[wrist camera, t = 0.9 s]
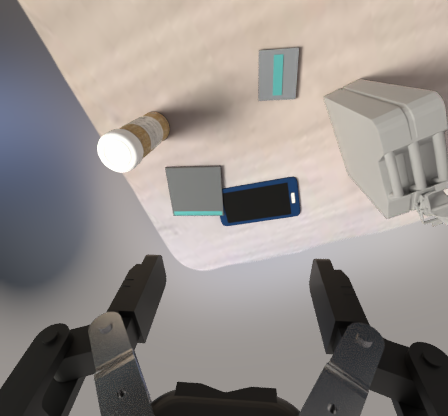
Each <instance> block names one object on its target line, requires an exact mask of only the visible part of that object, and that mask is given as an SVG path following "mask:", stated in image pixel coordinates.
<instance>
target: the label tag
mask: <svg viewBox="0 0 448 416" xmlns="http://www.w3.org/2000/svg"><path fill="white" fill-rule="evenodd" d="M298 56H299V48H287V49H273V50H259V101H267V100H287V99H295V98H296V84H297V70H298Z"/></svg>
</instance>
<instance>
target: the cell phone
mask: <svg viewBox="0 0 448 416" xmlns="http://www.w3.org/2000/svg"><path fill="white" fill-rule="evenodd" d="M222 198H223V213H224V216H220V219H221V222H222V224H223V225H224V226H231V225H238V224H245V223H252V222H259V221H266V220H273V219H280V218H287V217H293V216H298V215H299V214H300V203H299V194H298V185H297V179H296V178H295V177H287V178H281V179H275V180H270V181H264V182H258V183H252V184H247V185H241V186H235V187H229V188H224V189H222Z"/></svg>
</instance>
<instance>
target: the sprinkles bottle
mask: <svg viewBox="0 0 448 416" xmlns="http://www.w3.org/2000/svg"><path fill="white" fill-rule="evenodd" d="M169 130H170V128H169V124H168V121H167V120H166V118H165V117H164V116H163V115H161V114H159V113H157V112H150V113H147V114H145V115H144V116H142V117H139V118H138V119H135V120H133V121H132V122H130V123H128V124H126V125H124V126H122V127H121V128H119V129H114V130H111V131H109V132H108V133H106V134H104V135H103V136H102V137H101V138H100V140H99V142H98V146H97V150H98V155H99V157H100V159H101V161H102V162H103V163H104V164H105V165H106V166H107V167H108V168H110V169H111V170H113V171H116V172H121V173H124V172H129V171H131V170H132V169H134V168H135V167H136V166H137V165H138V164H139V163H140V162H141V161H142V159H143V158H144V157H145V156H146V155H147V154H148V153H150V152H151V151H152V150H154V149H155V148H156V147H157V146H158V145H159V144H160V143H161V142H162V141H164V140H165V139H166V138H167V136H168V134H169Z"/></svg>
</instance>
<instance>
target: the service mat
mask: <svg viewBox="0 0 448 416" xmlns="http://www.w3.org/2000/svg"><path fill="white" fill-rule="evenodd" d="M165 170H166V176H167V181H168V187H169V192H170V198H171V203H172V209H173V215H174V216H224V213H223V198H222V180H221V166H190V167H166V168H165Z"/></svg>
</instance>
